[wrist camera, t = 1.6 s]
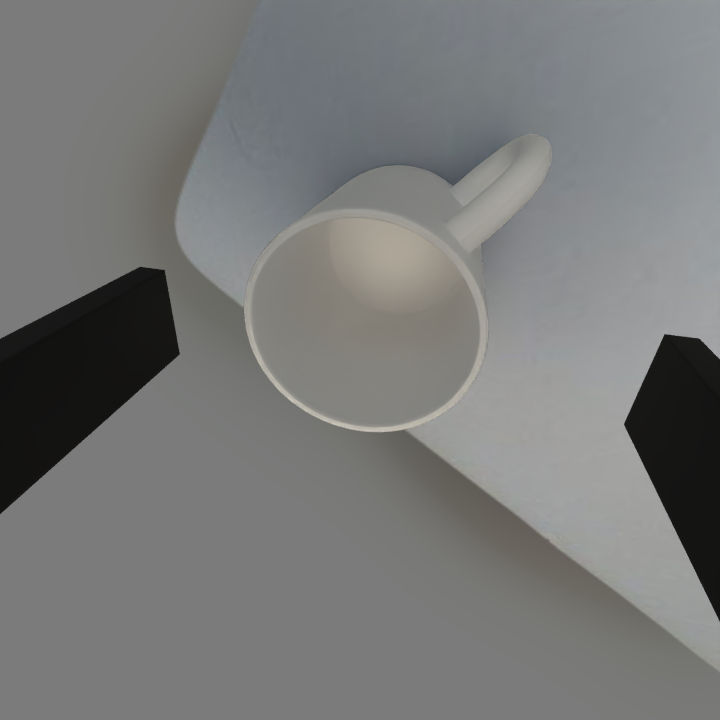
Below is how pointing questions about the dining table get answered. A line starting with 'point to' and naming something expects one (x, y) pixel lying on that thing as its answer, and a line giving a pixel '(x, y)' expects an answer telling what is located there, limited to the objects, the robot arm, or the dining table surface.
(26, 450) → the robot arm
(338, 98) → the dining table surface
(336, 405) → the cup
